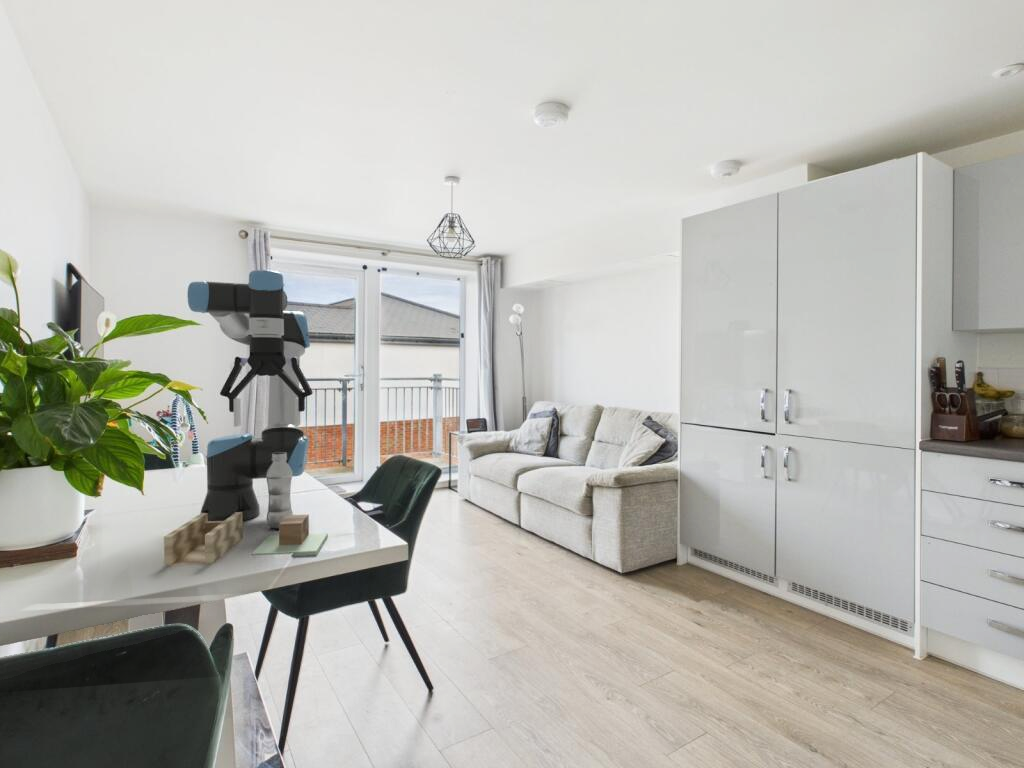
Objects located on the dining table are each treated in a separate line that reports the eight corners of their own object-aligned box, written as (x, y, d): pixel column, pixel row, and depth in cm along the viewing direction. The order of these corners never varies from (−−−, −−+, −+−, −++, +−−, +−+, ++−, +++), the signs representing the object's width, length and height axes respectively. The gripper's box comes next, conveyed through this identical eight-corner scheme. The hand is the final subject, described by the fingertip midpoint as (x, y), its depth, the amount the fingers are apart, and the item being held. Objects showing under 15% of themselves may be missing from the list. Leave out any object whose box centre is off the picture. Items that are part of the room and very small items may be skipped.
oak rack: (201, 542, 135) (200, 513, 135) (242, 540, 136) (242, 512, 136) (164, 569, 116) (164, 536, 116) (212, 567, 118) (212, 534, 117)
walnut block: (287, 535, 137) (287, 515, 137) (308, 534, 138) (308, 514, 138) (279, 545, 130) (278, 524, 129) (301, 544, 130) (301, 523, 130)
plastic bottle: (298, 525, 149) (298, 452, 149) (280, 532, 143) (280, 455, 143) (279, 523, 152) (278, 450, 151) (260, 530, 145) (260, 454, 145)
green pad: (269, 539, 137) (269, 535, 137) (327, 536, 139) (327, 532, 139) (251, 558, 124) (251, 553, 123) (316, 555, 126) (316, 550, 126)
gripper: (204, 335, 126) (205, 428, 127) (319, 337, 130) (319, 426, 131) (215, 336, 133) (216, 424, 134) (323, 338, 138) (324, 422, 139)
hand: (267, 425), depth 133 cm, fingers open, 13 cm apart
